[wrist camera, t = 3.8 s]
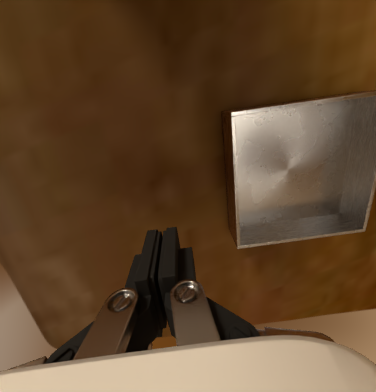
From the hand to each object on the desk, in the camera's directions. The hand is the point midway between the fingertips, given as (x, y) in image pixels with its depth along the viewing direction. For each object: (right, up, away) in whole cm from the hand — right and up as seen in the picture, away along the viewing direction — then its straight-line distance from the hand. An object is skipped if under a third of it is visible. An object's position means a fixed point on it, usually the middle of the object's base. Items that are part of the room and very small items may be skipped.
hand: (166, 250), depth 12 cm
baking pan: (+11, +6, +8) cm, 15 cm away
